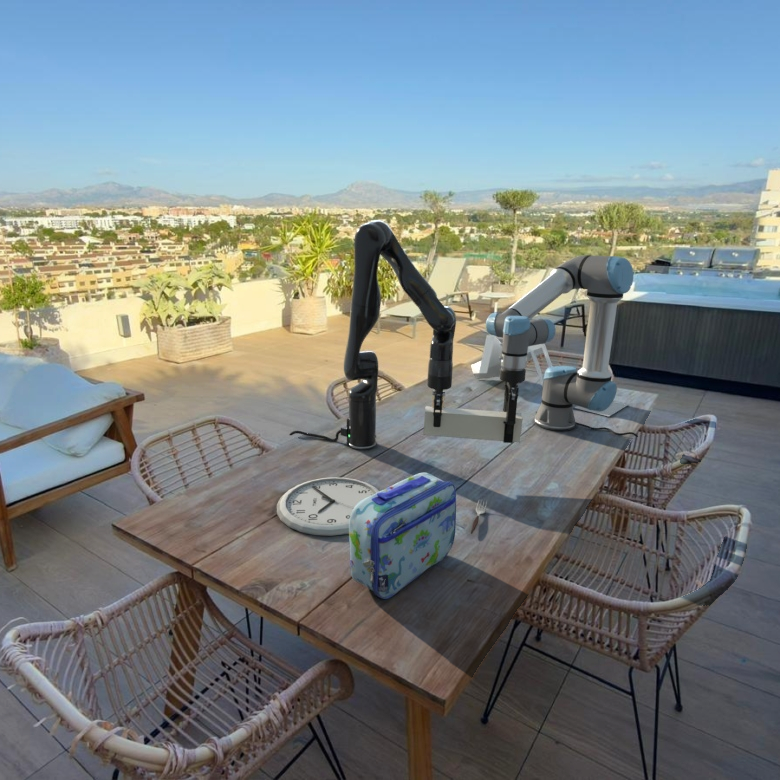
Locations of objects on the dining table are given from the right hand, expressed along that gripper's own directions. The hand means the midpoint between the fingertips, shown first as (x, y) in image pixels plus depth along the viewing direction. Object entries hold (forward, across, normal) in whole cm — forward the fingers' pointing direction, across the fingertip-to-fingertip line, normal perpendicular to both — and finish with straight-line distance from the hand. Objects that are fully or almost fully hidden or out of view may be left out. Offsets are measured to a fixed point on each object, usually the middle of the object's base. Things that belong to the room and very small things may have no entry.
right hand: (507, 438), depth 165 cm
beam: (0, 0, -11) cm, 11 cm away
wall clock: (+9, +32, -49) cm, 60 cm away
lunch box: (+9, +58, -27) cm, 65 cm away
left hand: (-4, 0, -22) cm, 23 cm away
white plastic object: (+11, -92, +11) cm, 93 cm away
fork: (+9, +34, -10) cm, 37 cm away
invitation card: (+11, -67, +47) cm, 82 cm away
